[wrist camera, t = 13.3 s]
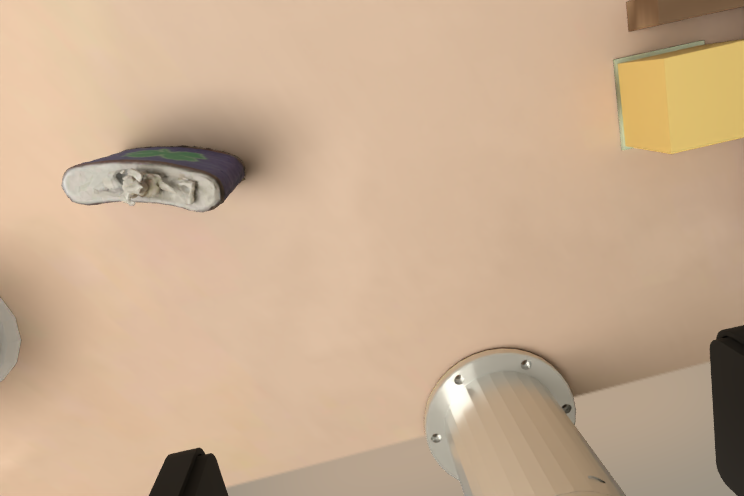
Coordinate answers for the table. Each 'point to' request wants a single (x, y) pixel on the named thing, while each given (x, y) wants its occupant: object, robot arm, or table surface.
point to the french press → (8, 340)
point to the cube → (684, 98)
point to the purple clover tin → (157, 177)
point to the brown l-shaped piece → (660, 6)
